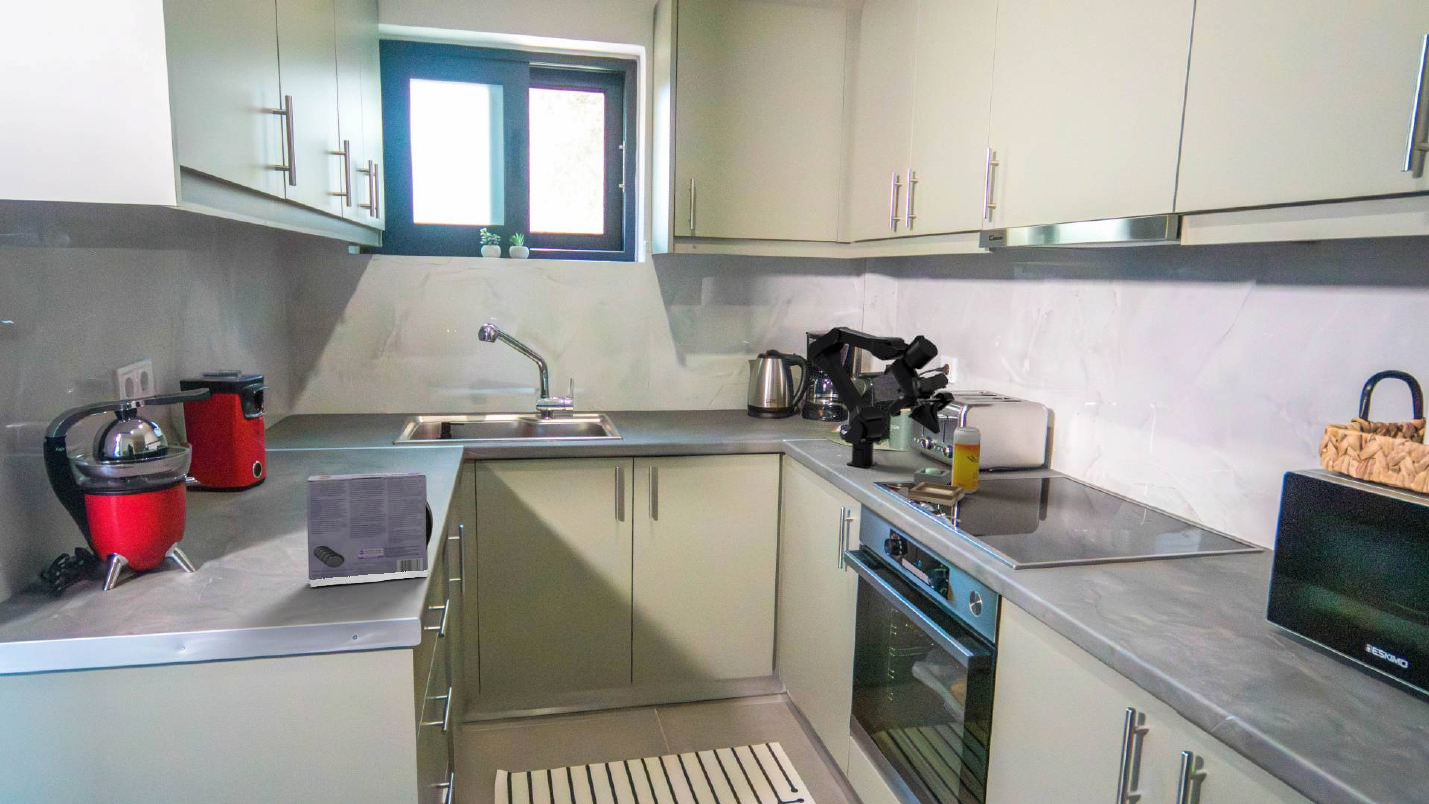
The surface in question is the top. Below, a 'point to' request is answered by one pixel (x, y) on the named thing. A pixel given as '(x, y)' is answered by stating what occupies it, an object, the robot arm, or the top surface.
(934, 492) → the shallow wooden tray
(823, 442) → the top surface
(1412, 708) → the top surface
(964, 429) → the beer can
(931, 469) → the button
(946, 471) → the button console
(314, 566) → the cake pan box
